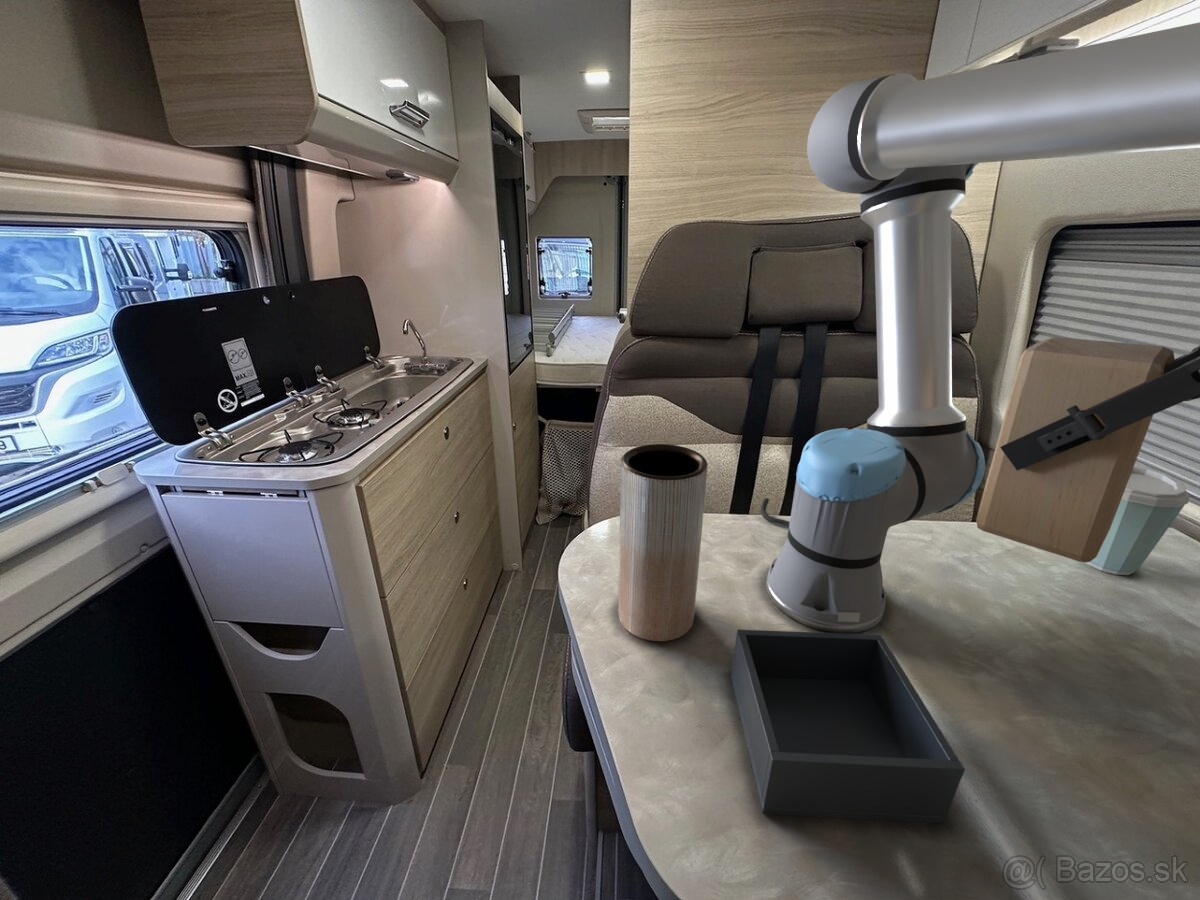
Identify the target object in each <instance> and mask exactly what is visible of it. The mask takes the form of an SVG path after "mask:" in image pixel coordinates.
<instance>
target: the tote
mask: <svg viewBox="0 0 1200 900" xmlns="http://www.w3.org/2000/svg"><path fill="white" fill-rule="evenodd" d="M885 640H886V639H885V638H884V637H883V635H882V634H869V633H836V632H816V631H815V632H813V631H792V630H791V631H787V630H761V629H760V630H759V629H736V634H735V643H734V651H733V656H732V657H733V659H732V666H731V673H730V677H731V682H732V687H733V691H734V695H735V700H736V703H737V709H738V713H739V717H740V722H741V726H742V730H743V734H744V738H745V743H746V748H747V753H748V756H749V761H750V765H751V769H752V775H753V778H754V782H755V787H756V791H757V796H758V800H759V805H760V809H761V813H762V814H764V815H780V816H781V815H783V816H801V817H803V816H804V817H819V818H820V817H823V818H839V819H840V818H841V819H859V820H879V821H896V822H897V821H898V822H915V823H934V824H935V823H937V824H944V823H945V822H946V820H947V816H948V814H949V811H950V809H951V807H952V803H953V802H954V799H955V796H956V793H957V791H958V789H959V786H960V783H961V781H962V778H963V776H964V773H965V766H964V765H963V764H962V762H961V761H960V760H959V758H958V756H957V755H956V753H955V751H954V749H953V748H952V746H951V745H950V743H949V742H948V740H947V738H946V737H945V735H944V734H943V732H942V729H940V726H938V724H937V723H936V721H935V719H934V718H933V716H932V714H931V713H930V711H929V709H928V708H927V706H926V704H925V702H924V701H923V700H922V697H921V696H920V695H919V693H918V692H917V689H916V688H915V687H914V685H913V684H912V682H911V681H910V679H909V677H908V675H907V674H906V673H905V671H904V669H903V668H902V666H901V664H900V662H899V661H898V659H897V658H896V656H895V654H894V653H893V651H892V649H891V648H890V646H889V645H888V643H887V642H886V641H885Z"/></svg>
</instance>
